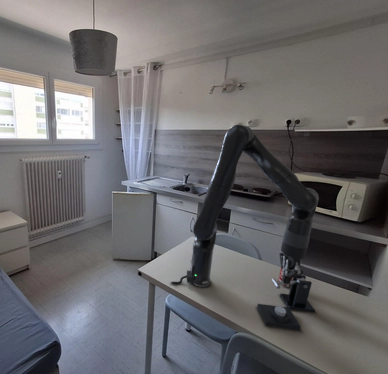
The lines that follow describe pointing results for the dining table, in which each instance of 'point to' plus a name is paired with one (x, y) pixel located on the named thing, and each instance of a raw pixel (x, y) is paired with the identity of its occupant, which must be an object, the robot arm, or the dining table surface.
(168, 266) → the dining table surface
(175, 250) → the dining table surface
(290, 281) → the flush lever
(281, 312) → the flush button
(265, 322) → the flush panel
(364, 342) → the dining table surface
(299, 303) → the bracket
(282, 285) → the soda can
